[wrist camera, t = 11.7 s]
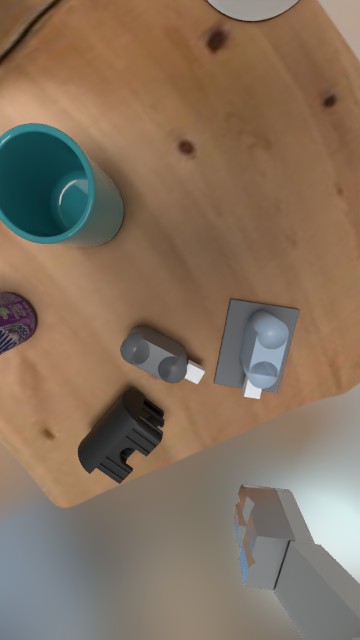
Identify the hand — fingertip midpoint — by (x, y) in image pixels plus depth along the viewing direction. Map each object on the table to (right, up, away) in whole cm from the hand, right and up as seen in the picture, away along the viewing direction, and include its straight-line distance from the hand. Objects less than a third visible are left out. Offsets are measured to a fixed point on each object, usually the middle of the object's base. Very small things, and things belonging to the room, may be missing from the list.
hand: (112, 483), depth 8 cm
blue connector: (+12, +1, +27) cm, 30 cm away
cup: (-10, +20, +24) cm, 33 cm away
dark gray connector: (0, +1, +28) cm, 28 cm away
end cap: (-6, -9, +31) cm, 33 cm away
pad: (+12, +2, +28) cm, 30 cm away
